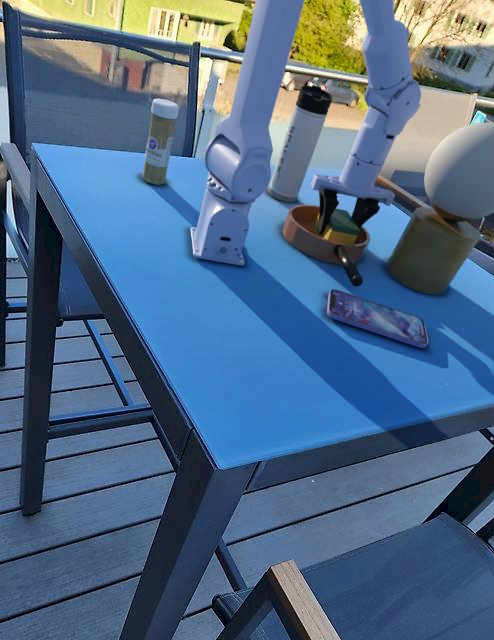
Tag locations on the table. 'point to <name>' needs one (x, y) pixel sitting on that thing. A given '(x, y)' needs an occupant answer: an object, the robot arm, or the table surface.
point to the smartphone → (377, 318)
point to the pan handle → (348, 265)
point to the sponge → (339, 228)
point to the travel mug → (299, 142)
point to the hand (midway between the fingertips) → (333, 234)
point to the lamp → (447, 211)
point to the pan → (307, 241)
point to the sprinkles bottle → (159, 141)
